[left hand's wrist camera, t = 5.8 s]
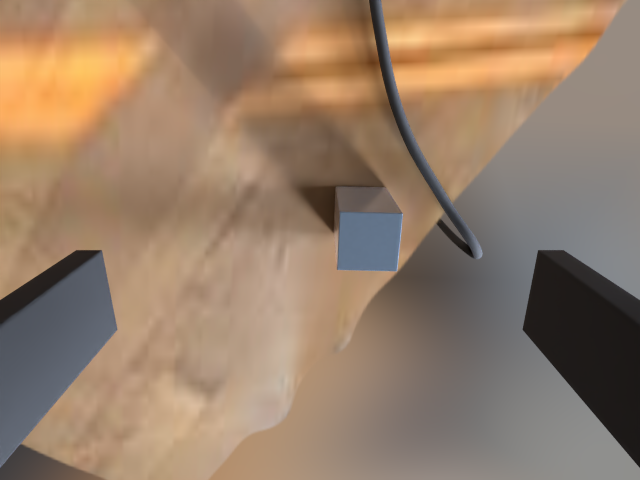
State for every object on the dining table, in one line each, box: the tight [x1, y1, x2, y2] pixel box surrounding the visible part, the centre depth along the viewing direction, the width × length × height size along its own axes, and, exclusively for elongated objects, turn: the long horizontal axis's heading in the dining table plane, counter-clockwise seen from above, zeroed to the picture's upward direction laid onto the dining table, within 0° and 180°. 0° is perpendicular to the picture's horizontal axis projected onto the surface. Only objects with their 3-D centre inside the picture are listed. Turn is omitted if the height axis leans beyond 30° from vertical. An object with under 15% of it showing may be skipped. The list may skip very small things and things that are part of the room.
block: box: [334, 186, 403, 271], centre depth 35 cm, size 5×5×8 cm
